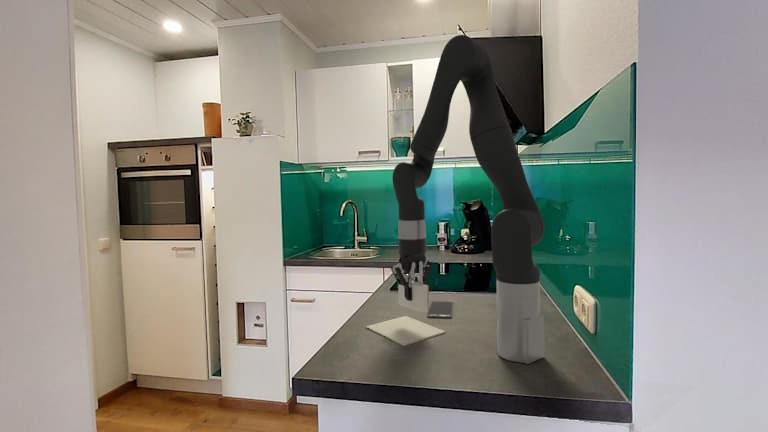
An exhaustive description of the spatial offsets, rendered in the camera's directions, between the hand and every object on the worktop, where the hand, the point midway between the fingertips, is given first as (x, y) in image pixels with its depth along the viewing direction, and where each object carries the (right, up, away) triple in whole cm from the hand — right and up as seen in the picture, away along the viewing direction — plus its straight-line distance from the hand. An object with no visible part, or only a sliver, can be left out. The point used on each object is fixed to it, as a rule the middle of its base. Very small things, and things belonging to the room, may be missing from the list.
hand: (413, 298), depth 110 cm
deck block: (0, -2, 0) cm, 2 cm away
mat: (-2, -8, -1) cm, 9 cm away
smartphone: (+10, -7, +16) cm, 21 cm away
